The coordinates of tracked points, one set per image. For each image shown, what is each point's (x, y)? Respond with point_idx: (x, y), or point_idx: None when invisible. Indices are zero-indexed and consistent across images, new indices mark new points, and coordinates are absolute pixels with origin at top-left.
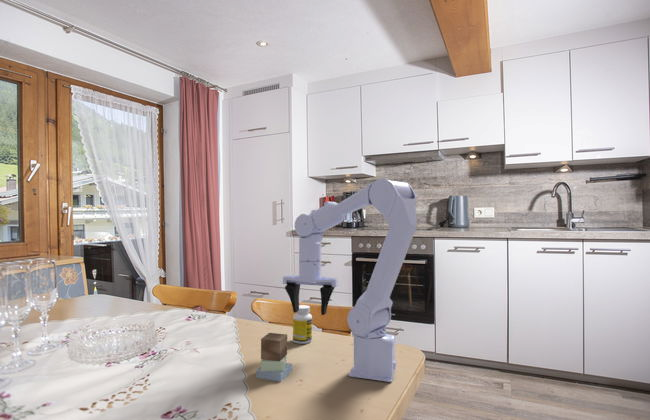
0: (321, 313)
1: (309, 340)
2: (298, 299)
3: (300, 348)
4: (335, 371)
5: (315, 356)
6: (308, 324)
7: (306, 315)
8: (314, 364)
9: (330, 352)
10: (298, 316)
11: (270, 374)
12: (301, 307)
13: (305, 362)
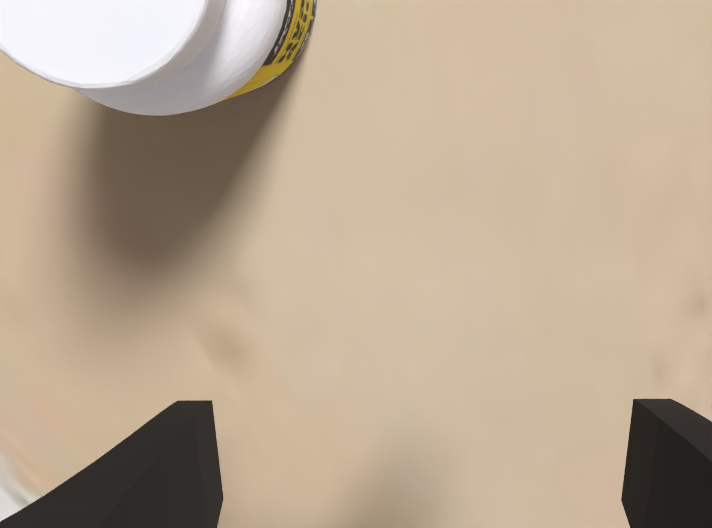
0: (632, 520)
1: (312, 27)
2: (138, 497)
3: (292, 183)
4: None
5: (472, 304)
6: (283, 47)
7: (221, 29)
8: (508, 432)
9: (569, 187)
10: (126, 96)
11: None
12: (85, 24)
13: (437, 420)
